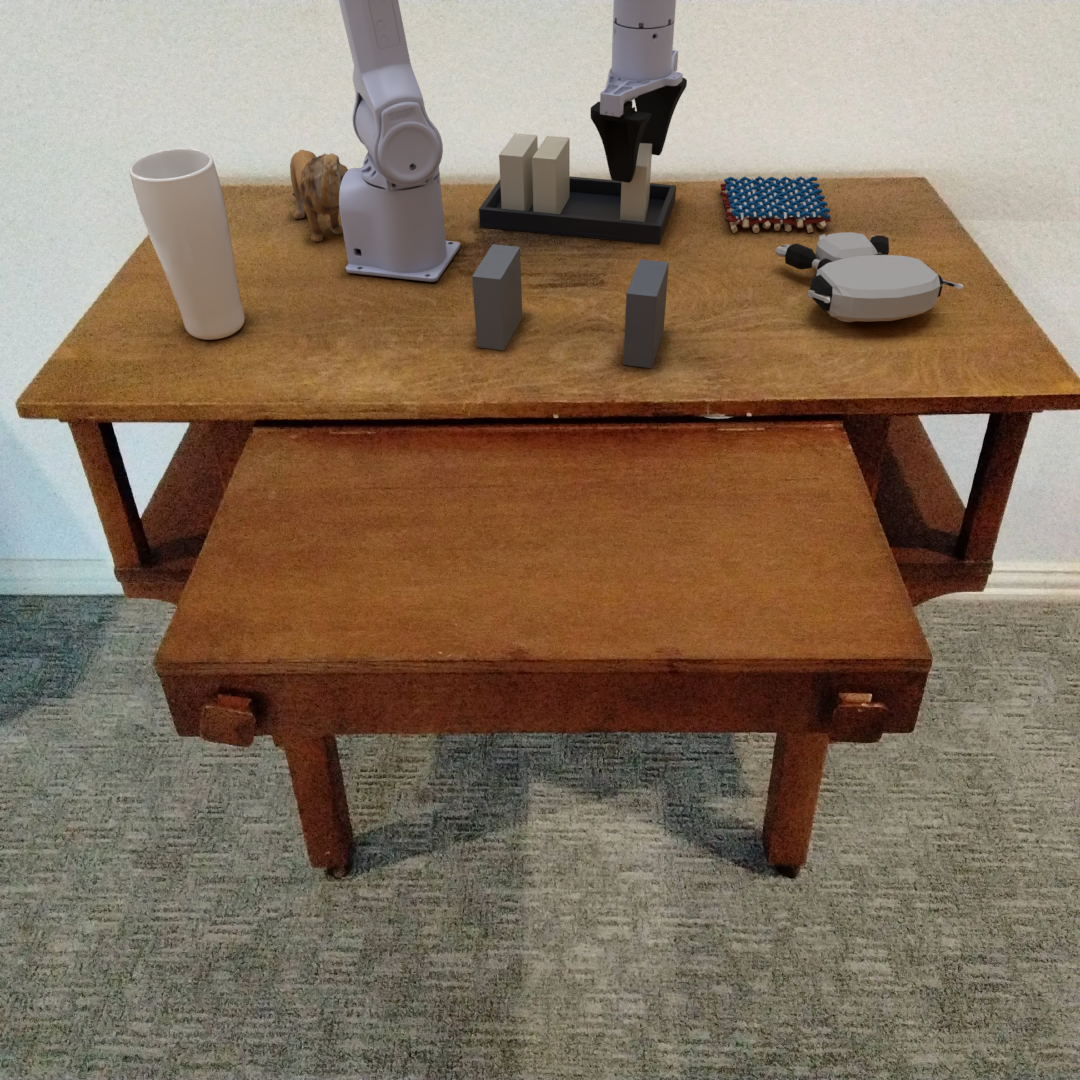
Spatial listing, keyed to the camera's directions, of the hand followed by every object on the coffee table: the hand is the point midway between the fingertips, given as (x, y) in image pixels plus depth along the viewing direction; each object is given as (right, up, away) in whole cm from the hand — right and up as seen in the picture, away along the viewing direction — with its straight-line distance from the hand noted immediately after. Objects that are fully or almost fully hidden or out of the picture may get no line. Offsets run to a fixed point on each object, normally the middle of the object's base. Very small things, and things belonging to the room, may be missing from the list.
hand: (636, 166), depth 99 cm
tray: (-6, -3, +5) cm, 8 cm away
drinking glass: (-39, -19, -11) cm, 45 cm away
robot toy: (+19, -16, -9) cm, 27 cm away
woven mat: (+15, -3, +5) cm, 16 cm away
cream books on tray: (-10, -2, +6) cm, 12 cm away
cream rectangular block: (0, -4, +4) cm, 5 cm away
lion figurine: (-33, -5, +5) cm, 34 cm away
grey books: (-7, -21, -14) cm, 26 cm away
